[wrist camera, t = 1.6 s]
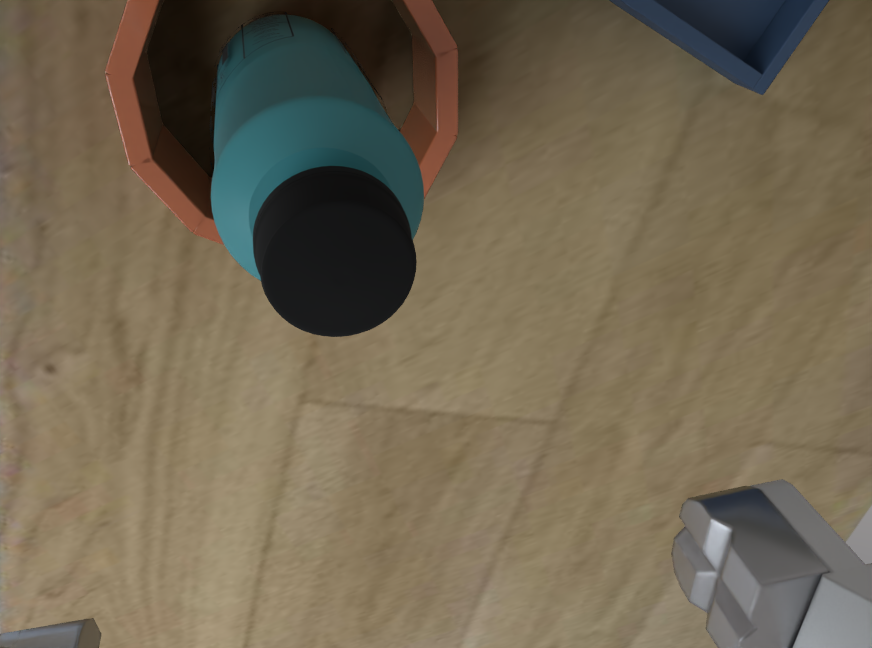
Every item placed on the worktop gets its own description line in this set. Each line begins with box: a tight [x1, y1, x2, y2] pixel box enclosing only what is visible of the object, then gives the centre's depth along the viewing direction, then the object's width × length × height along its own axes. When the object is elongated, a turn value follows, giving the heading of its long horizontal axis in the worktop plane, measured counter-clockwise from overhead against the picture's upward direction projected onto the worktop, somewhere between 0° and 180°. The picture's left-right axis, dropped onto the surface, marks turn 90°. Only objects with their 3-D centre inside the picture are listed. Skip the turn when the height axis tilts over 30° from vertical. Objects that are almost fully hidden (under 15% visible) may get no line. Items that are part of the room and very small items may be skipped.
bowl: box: [105, 0, 458, 245], centre depth 32 cm, size 14×14×5 cm
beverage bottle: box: [209, 12, 424, 337], centre depth 25 cm, size 6×7×20 cm
